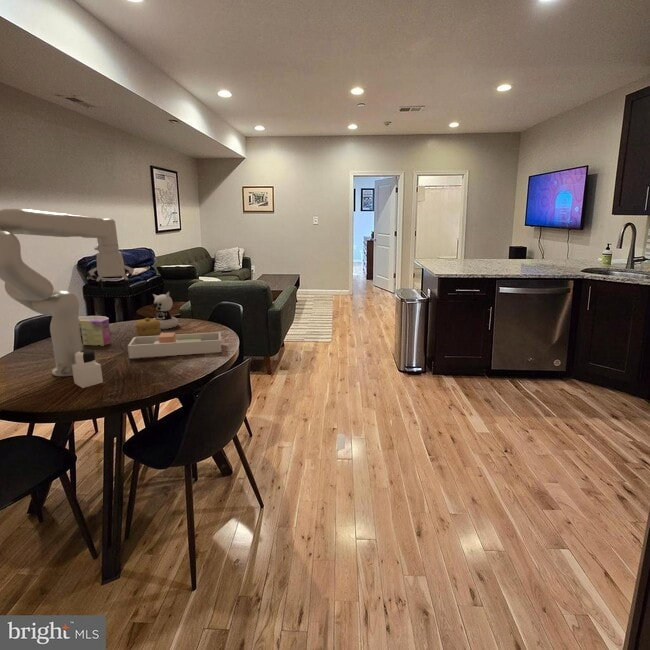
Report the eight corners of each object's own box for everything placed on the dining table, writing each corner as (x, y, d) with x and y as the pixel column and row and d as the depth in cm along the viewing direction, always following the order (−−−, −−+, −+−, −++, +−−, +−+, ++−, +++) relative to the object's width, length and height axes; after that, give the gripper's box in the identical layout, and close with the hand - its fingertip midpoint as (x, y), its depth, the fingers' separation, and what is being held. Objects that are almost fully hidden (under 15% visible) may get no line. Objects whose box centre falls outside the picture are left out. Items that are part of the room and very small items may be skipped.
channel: (221, 353, 187) (220, 340, 185) (129, 359, 178) (127, 345, 176) (221, 344, 200) (220, 332, 198) (135, 349, 191) (133, 337, 189)
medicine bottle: (94, 378, 157) (90, 347, 154) (103, 382, 153) (99, 351, 150) (74, 383, 152) (69, 351, 149) (82, 388, 147) (77, 356, 144)
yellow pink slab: (121, 333, 218) (119, 318, 216) (75, 344, 199) (72, 327, 197) (94, 326, 231) (92, 312, 229) (49, 336, 212) (47, 320, 210)
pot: (132, 340, 206) (130, 320, 203) (142, 334, 217) (140, 315, 214) (156, 340, 206) (154, 320, 203) (165, 334, 217) (163, 315, 215)
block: (174, 345, 184) (173, 336, 183) (159, 346, 183) (158, 337, 182) (175, 340, 191) (174, 332, 190) (161, 341, 189) (160, 333, 188)
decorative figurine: (144, 329, 226) (140, 292, 221) (160, 323, 240) (157, 288, 235) (168, 331, 223) (165, 293, 218) (183, 324, 237) (181, 289, 232)
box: (111, 342, 202) (108, 318, 199) (104, 346, 196) (101, 321, 193) (90, 341, 203) (87, 318, 200) (83, 345, 197) (79, 320, 194)
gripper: (83, 250, 169) (89, 292, 174) (130, 249, 174) (135, 289, 179) (87, 248, 176) (93, 289, 181) (132, 247, 181) (137, 286, 186)
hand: (114, 289), depth 180 cm, fingers open, 9 cm apart
